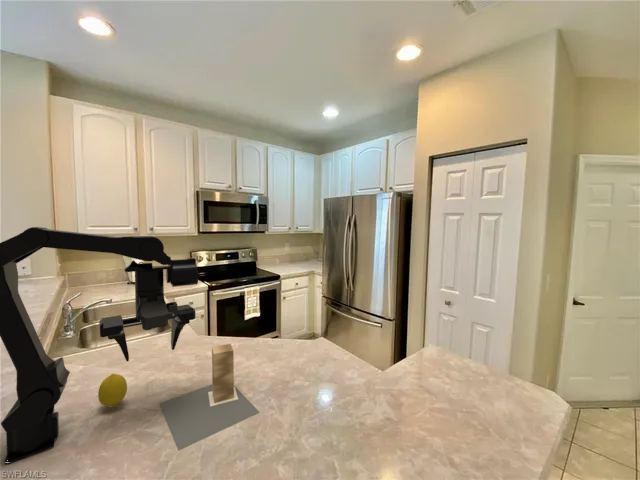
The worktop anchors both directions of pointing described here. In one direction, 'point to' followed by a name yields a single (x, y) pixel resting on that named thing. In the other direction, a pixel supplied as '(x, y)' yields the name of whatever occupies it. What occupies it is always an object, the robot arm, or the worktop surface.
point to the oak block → (223, 372)
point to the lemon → (112, 390)
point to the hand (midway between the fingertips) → (151, 354)
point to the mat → (203, 414)
